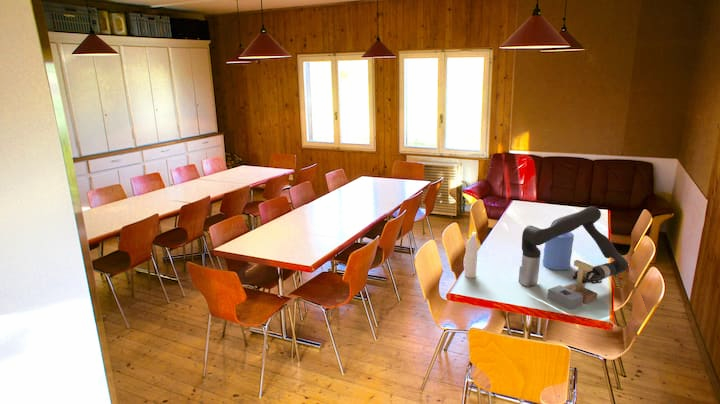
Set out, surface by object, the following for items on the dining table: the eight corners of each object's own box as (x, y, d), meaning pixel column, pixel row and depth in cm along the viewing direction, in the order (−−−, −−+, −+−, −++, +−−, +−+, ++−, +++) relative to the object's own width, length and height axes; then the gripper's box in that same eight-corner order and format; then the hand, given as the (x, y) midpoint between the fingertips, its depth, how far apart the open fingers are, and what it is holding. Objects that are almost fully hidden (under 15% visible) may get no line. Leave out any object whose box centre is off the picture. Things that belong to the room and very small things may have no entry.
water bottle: (474, 278, 273) (477, 237, 266) (463, 276, 276) (465, 236, 269) (477, 272, 281) (480, 232, 274) (466, 271, 283) (468, 231, 276)
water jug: (572, 271, 281) (578, 226, 274) (544, 269, 284) (549, 225, 277) (567, 261, 296) (572, 218, 288) (540, 259, 299) (545, 217, 291)
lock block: (561, 294, 254) (562, 286, 253) (572, 290, 258) (573, 283, 257) (585, 305, 242) (586, 297, 241) (596, 301, 247) (597, 293, 245)
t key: (569, 293, 253) (573, 261, 248) (573, 292, 254) (577, 259, 249) (584, 300, 245) (589, 267, 240) (588, 298, 247) (593, 265, 242)
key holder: (546, 299, 249) (548, 289, 247) (558, 295, 253) (559, 285, 251) (570, 311, 237) (571, 300, 235) (581, 306, 241) (583, 295, 239)
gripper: (587, 261, 259) (566, 268, 251) (612, 271, 247) (591, 278, 239) (586, 274, 261) (565, 281, 253) (610, 284, 249) (589, 291, 241)
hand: (578, 279), depth 246 cm, fingers open, 4 cm apart
